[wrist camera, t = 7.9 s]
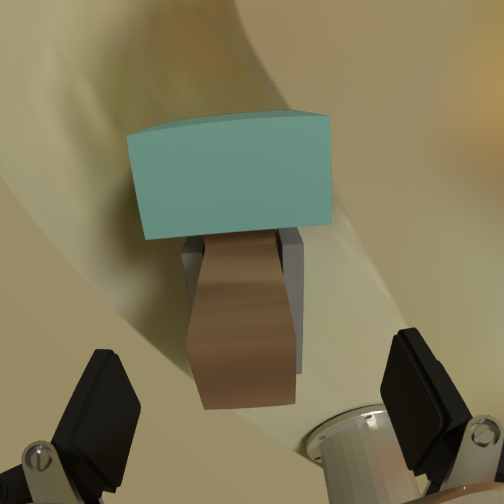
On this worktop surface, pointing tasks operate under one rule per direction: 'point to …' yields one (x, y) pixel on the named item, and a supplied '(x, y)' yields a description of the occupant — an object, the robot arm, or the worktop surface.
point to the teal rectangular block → (233, 173)
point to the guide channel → (291, 266)
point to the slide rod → (242, 324)
